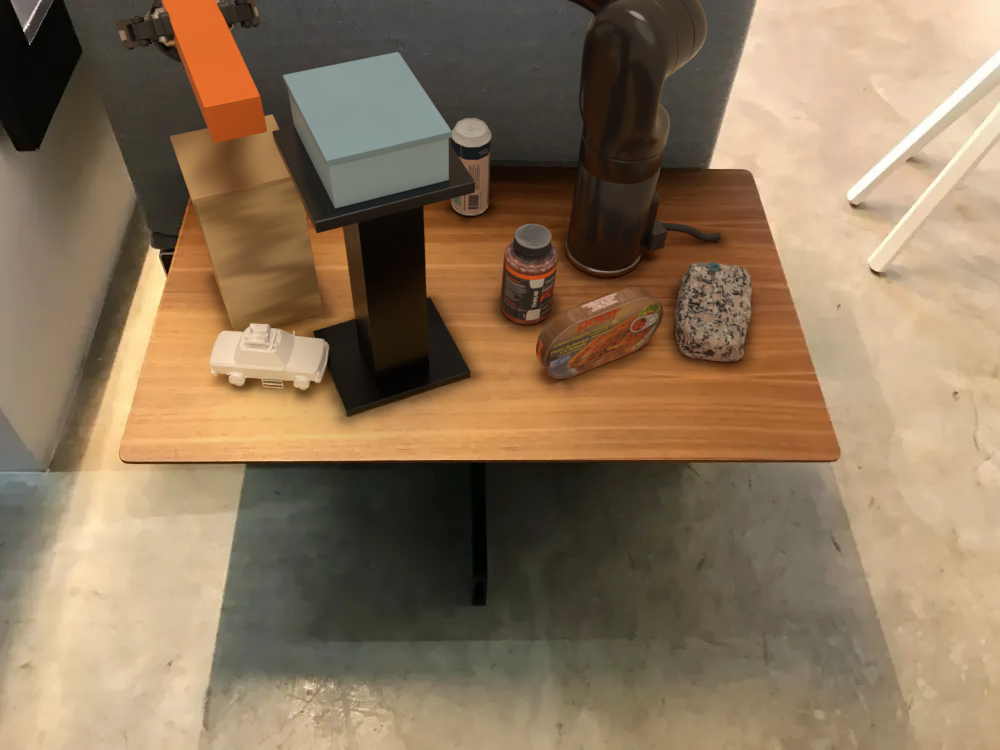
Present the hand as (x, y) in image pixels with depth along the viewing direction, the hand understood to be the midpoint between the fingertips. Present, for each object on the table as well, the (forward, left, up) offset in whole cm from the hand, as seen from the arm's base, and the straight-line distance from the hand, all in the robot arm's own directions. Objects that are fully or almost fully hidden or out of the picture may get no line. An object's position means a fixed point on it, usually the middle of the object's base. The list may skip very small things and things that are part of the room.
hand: (197, 20), depth 76 cm
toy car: (+2, +15, -32) cm, 36 cm away
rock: (-46, +27, -32) cm, 62 cm away
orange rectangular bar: (0, +4, -3) cm, 5 cm away
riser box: (0, +4, -32) cm, 32 cm away
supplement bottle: (-27, +17, -32) cm, 45 cm away
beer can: (-28, -2, -32) cm, 43 cm away
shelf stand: (-10, +18, -32) cm, 38 cm away
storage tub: (-10, +17, -5) cm, 20 cm away
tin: (-31, +26, -32) cm, 52 cm away
